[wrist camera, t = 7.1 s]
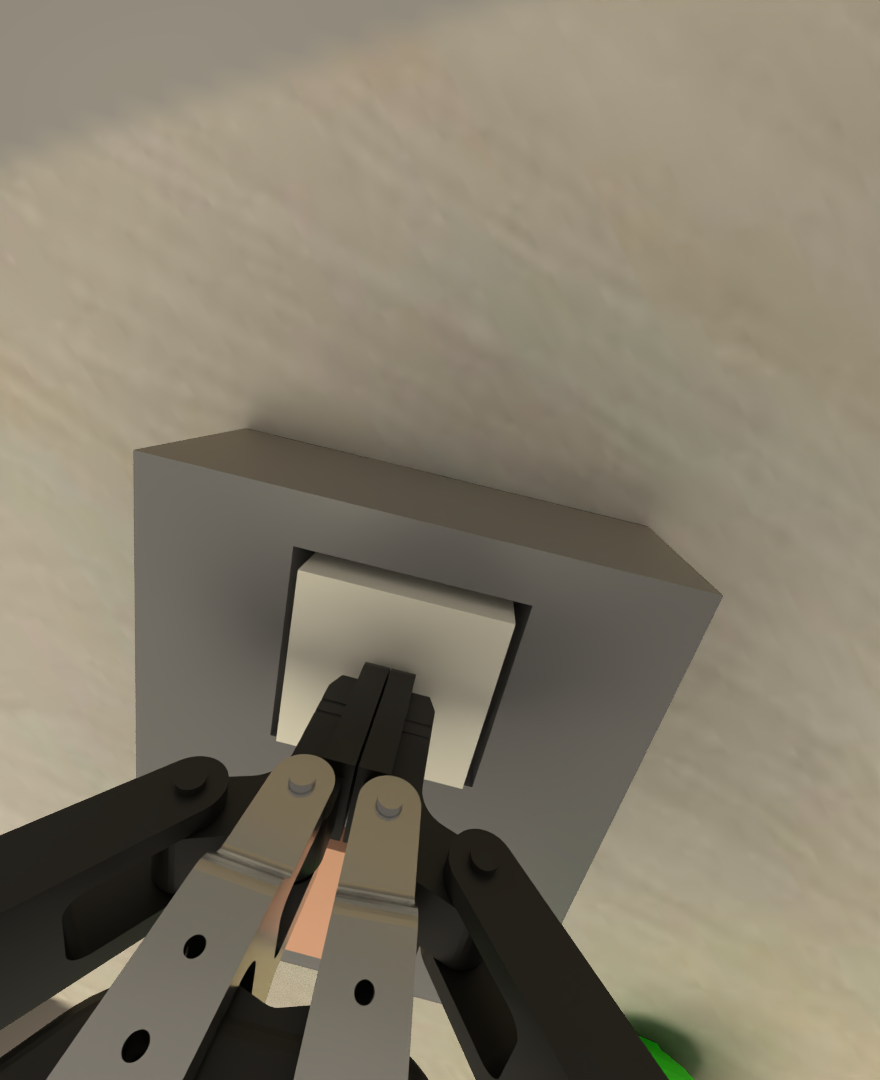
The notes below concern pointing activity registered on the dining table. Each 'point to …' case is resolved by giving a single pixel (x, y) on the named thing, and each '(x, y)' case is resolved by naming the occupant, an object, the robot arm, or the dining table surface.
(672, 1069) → the plastic bottle
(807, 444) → the dining table surface
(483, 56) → the dining table surface
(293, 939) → the terracotta key
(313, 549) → the block
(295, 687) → the white key
